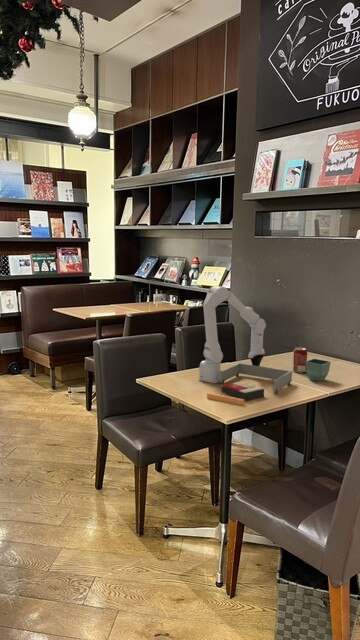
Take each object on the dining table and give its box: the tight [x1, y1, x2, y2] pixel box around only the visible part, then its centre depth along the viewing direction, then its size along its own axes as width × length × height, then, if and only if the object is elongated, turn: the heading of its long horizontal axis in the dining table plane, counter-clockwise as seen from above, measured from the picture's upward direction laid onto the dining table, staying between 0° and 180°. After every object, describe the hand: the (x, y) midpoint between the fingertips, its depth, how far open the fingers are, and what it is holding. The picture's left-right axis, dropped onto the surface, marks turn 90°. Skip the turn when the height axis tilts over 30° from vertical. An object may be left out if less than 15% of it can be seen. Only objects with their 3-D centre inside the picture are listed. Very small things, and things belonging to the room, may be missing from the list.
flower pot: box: [305, 358, 331, 382], centre depth 218 cm, size 9×9×9 cm
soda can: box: [292, 346, 308, 374], centre depth 233 cm, size 7×7×12 cm
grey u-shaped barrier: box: [219, 362, 293, 394], centre depth 210 cm, size 27×20×6 cm
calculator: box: [221, 381, 265, 402], centre depth 195 cm, size 11×4×15 cm
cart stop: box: [206, 392, 245, 406], centre depth 186 cm, size 16×2×2 cm, turn 57°
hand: (255, 370), depth 222 cm, fingers closed
